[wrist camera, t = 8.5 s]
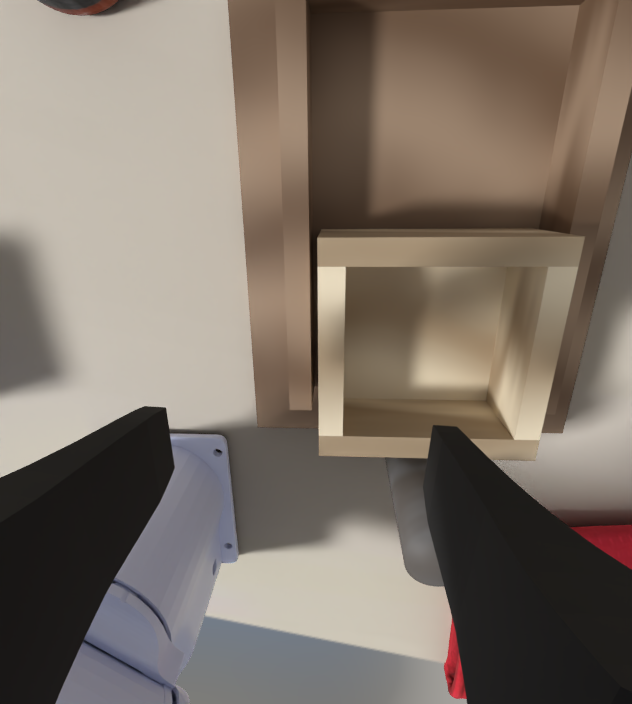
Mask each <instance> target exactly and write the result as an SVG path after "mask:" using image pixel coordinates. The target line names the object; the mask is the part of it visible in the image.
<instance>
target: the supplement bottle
mask: <svg viewBox="0 0 632 704" xmlns="http://www.w3.org/2000/svg"><path fill="white" fill-rule="evenodd" d="M38 1H39V2H41V3H43V4H45V5H46V6H48V7H50V8H53V9H54V10H57V11H60V12H63V13H67V14H72V15H80V16H82V15H92V14H97V13H99V12H102V11H104V10H106V9H108V8H110V7H111V6H113V5H114V4H115V3H116V2H117V1H118V0H38Z"/></svg>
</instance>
